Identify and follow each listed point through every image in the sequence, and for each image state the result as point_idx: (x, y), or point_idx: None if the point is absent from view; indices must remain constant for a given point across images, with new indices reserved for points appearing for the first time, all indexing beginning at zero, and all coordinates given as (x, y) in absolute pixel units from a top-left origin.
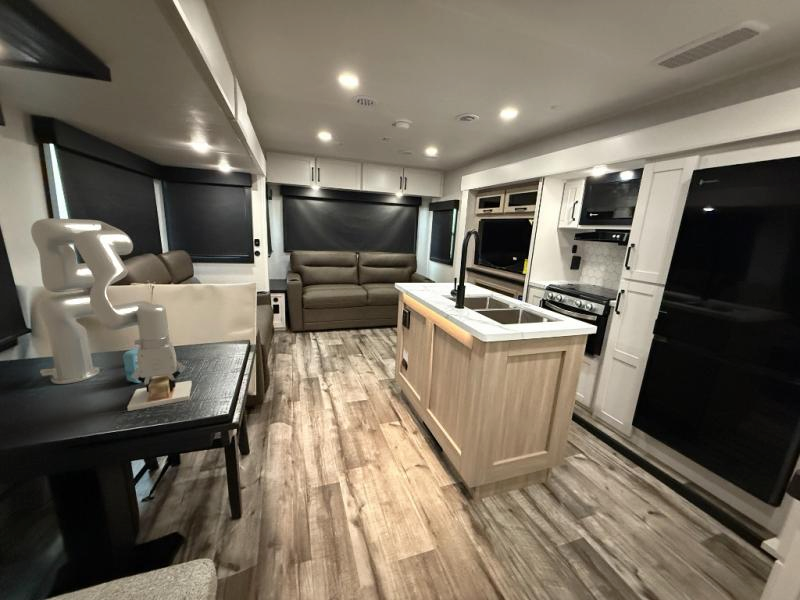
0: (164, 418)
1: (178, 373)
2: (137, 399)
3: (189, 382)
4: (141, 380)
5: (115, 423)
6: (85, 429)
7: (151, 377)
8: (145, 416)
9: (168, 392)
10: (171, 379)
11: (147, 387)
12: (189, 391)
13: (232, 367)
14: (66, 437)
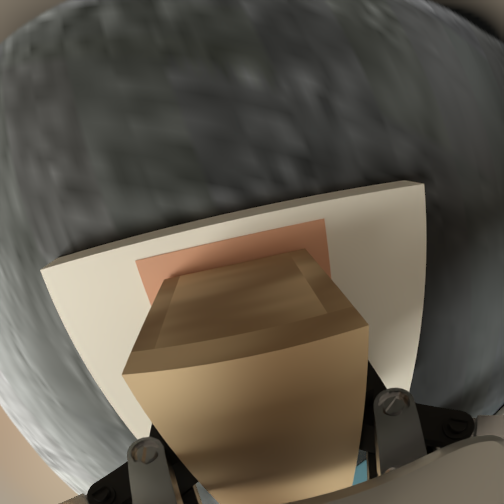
0: (125, 28)
1: (90, 492)
2: (394, 284)
3: (142, 436)
4: (441, 417)
5: (405, 52)
6: (483, 68)
7: (356, 467)
8: (265, 67)
9: (155, 302)
10: (159, 449)
11: (367, 375)
12: (77, 342)
13: (77, 478)
14: (498, 45)
